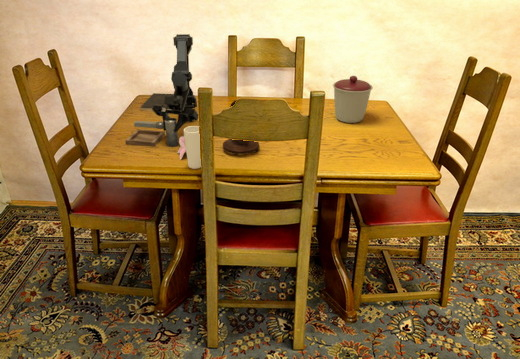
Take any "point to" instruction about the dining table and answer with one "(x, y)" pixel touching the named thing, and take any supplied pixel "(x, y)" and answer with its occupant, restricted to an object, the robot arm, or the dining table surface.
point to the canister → (351, 99)
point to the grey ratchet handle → (149, 124)
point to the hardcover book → (155, 101)
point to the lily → (182, 148)
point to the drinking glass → (192, 146)
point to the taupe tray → (145, 138)
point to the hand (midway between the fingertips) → (169, 131)
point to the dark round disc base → (240, 145)
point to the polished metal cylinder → (171, 132)
